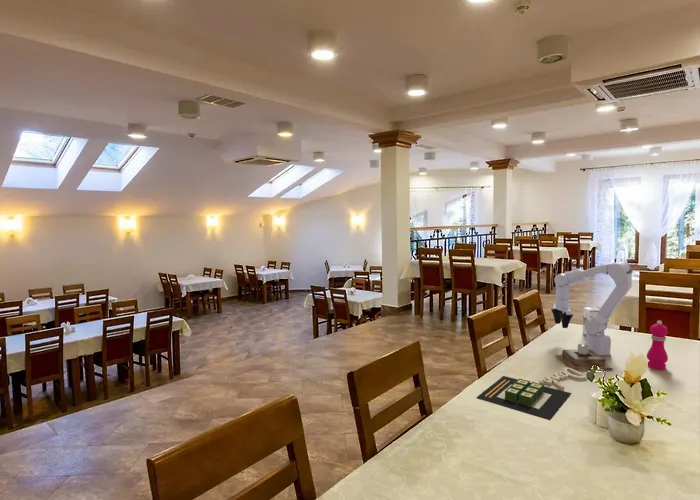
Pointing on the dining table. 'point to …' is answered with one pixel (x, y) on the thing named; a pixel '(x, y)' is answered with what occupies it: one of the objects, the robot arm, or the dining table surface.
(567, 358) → the socket board
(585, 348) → the peg
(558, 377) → the decorative sign
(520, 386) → the sushi
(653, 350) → the pepper mill
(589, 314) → the syrup box
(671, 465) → the dining table surface
